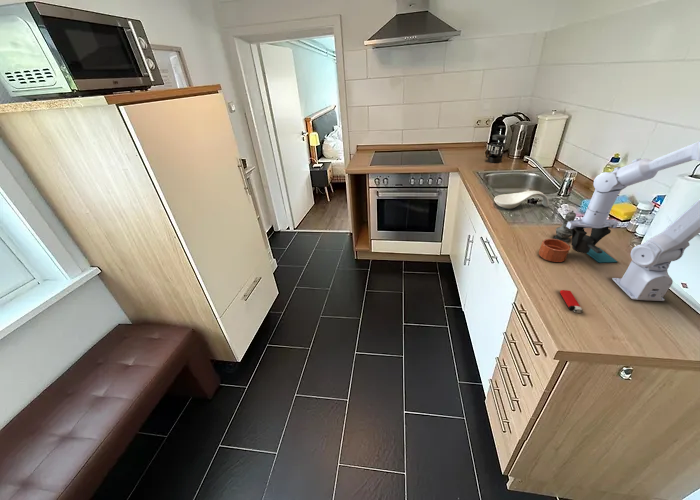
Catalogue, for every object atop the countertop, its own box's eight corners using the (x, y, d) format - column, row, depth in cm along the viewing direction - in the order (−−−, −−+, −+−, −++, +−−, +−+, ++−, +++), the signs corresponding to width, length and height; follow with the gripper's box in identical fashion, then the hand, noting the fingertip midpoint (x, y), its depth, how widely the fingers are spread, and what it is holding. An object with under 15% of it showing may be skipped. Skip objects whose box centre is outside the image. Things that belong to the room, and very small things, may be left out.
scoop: (569, 246, 101) (573, 234, 98) (583, 245, 100) (588, 234, 98) (587, 261, 92) (593, 249, 90) (603, 261, 92) (609, 249, 90)
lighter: (571, 290, 83) (583, 310, 77) (570, 294, 84) (582, 313, 77) (560, 289, 84) (571, 308, 77) (559, 293, 85) (570, 312, 78)
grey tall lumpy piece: (554, 233, 113) (564, 205, 107) (572, 237, 110) (583, 209, 104) (551, 239, 110) (562, 211, 103) (569, 244, 106) (582, 214, 100)
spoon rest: (497, 211, 133) (501, 197, 129) (489, 201, 143) (492, 188, 139) (551, 210, 130) (557, 196, 127) (539, 200, 140) (543, 186, 137)
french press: (498, 159, 204) (506, 124, 192) (505, 162, 196) (513, 126, 184) (482, 160, 204) (488, 125, 192) (488, 163, 196) (495, 127, 184)
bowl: (569, 263, 96) (575, 251, 94) (543, 262, 98) (548, 250, 95) (558, 250, 103) (563, 239, 100) (534, 250, 104) (538, 238, 102)
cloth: (598, 263, 96) (598, 262, 96) (581, 248, 103) (581, 247, 103) (617, 262, 96) (617, 261, 95) (598, 248, 103) (598, 247, 103)
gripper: (613, 203, 93) (596, 239, 101) (567, 205, 94) (553, 240, 102) (630, 212, 87) (611, 250, 95) (580, 214, 88) (565, 251, 96)
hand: (582, 246), depth 98 cm, fingers closed on scoop, 5 cm apart
